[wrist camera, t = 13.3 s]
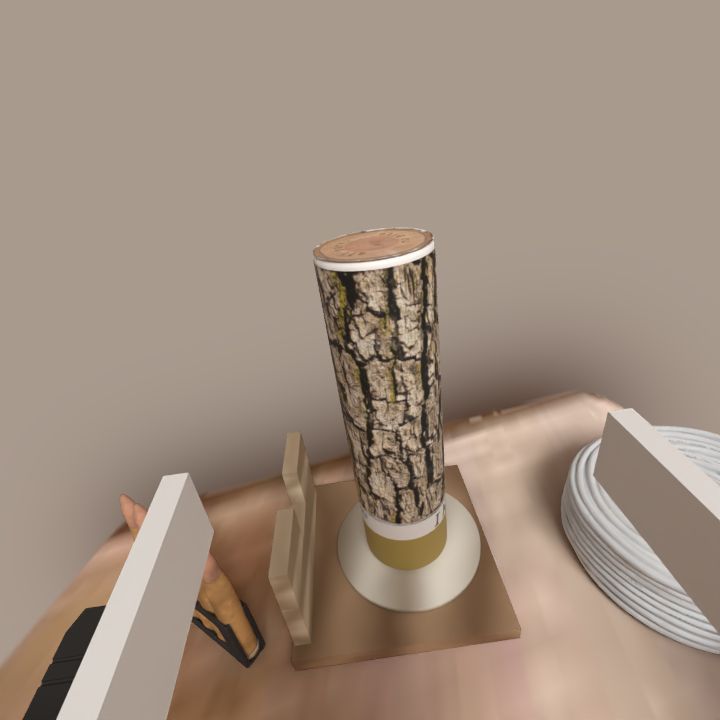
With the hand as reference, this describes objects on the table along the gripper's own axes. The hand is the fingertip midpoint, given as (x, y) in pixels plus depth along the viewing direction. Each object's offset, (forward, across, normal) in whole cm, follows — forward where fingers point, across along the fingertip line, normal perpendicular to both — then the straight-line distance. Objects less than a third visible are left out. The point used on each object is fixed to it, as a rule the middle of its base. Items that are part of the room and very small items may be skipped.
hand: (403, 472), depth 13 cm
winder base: (+13, 0, -23) cm, 26 cm away
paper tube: (+13, +2, -21) cm, 25 cm away
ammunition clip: (+10, -15, -23) cm, 30 cm away
